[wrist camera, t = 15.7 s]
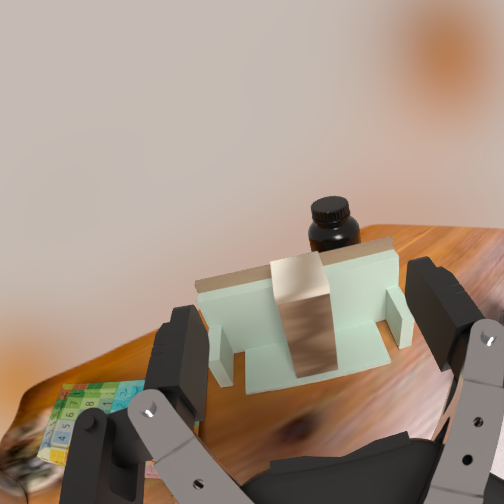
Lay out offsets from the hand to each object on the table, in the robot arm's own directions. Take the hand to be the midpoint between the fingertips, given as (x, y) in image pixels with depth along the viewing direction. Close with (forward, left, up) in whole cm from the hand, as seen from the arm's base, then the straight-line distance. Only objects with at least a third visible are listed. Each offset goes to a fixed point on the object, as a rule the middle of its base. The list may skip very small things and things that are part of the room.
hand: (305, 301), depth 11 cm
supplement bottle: (+6, +27, -22) cm, 35 cm away
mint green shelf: (0, +15, -22) cm, 26 cm away
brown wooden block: (0, +14, -21) cm, 25 cm away
